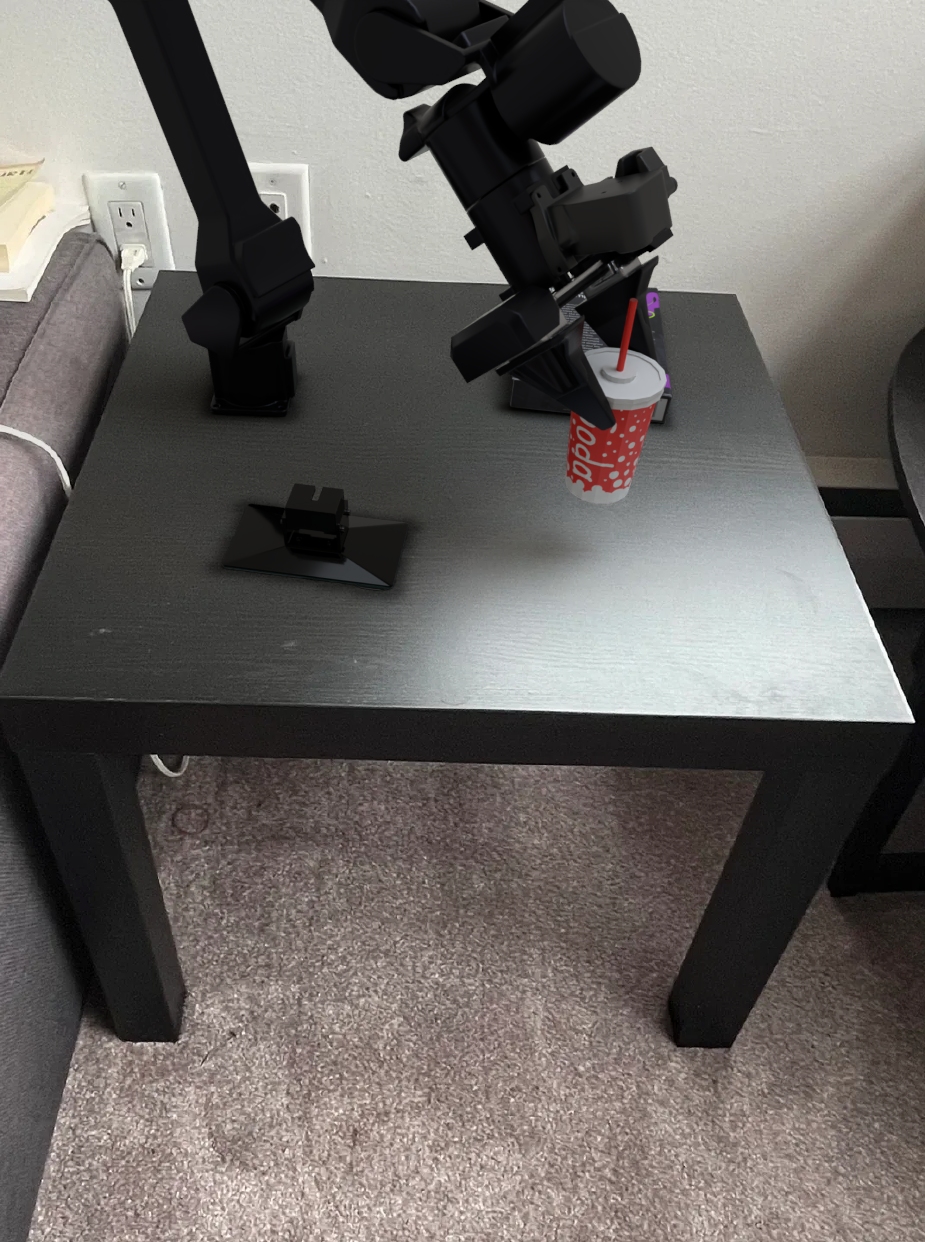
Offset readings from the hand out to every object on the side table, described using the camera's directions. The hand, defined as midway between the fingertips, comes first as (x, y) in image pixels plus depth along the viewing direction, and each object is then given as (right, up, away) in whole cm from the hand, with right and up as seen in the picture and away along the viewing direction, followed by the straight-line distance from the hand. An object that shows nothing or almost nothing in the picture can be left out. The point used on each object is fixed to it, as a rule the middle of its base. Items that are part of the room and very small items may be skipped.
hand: (632, 405), depth 64 cm
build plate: (-22, -9, +9) cm, 25 cm away
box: (+1, +11, +29) cm, 31 cm away
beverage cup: (-2, -4, +6) cm, 7 cm away
